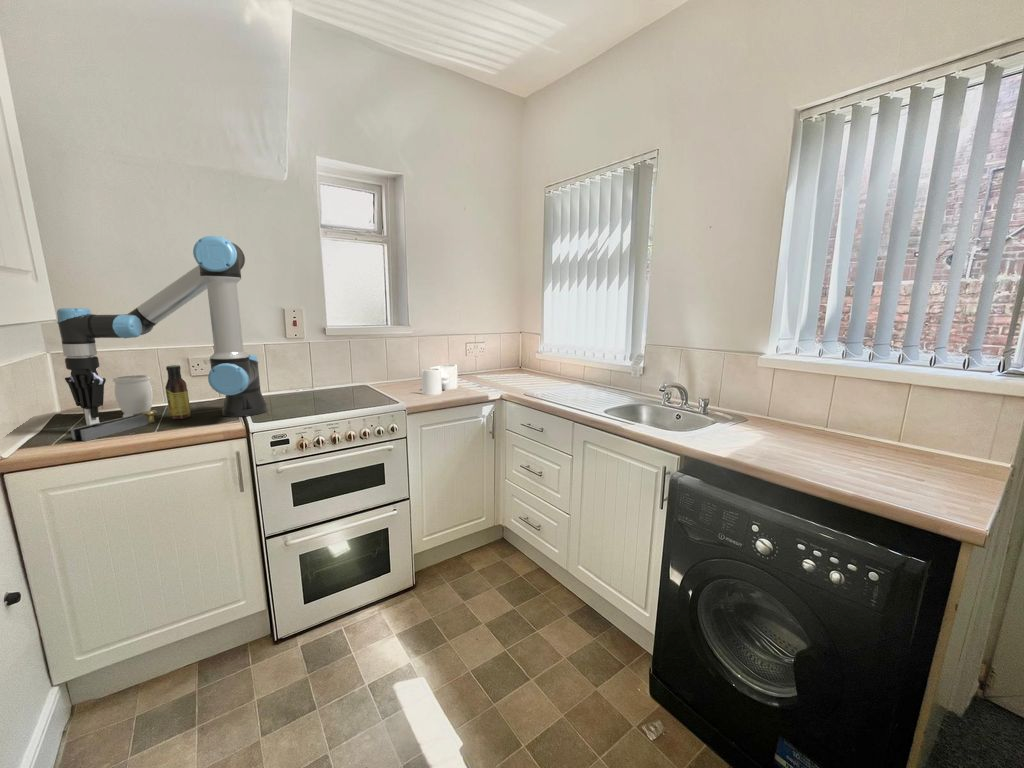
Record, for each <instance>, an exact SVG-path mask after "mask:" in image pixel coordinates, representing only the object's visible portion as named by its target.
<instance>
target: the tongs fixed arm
mask: <svg viewBox="0 0 1024 768" xmlns="http://www.w3.org/2000/svg"><path fill="white" fill-rule="evenodd" d="M154 415H155V414H153V415H140V416H136V417H132V418H128V419H124V420H120V421H116V422H112V423H108V424H104V425H98V426H94V427H90V428H86V429H82V430H80V435H81V439H80V440H81V442H88V440H89V441H91V440H95V439H99V437H100V438H102V437H106V436H110V435H114V434H117V433H120V432H121V433H122V432H125V431H128V430H131V429H135V428H136V429H137V428H140V427H144V426H147V425H149V424H151V423H155V417H154Z"/></svg>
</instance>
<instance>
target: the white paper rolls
mask: <svg viewBox="0 0 1024 768" xmlns="http://www.w3.org/2000/svg"><path fill="white" fill-rule="evenodd" d="M458 381H459V380H458V364H455V363H453V364H452V363H443V364H442V365H436V366H433V367H432V366H431V367H428V368H427V370H426V369H421V394H422V395H425V396H438V395H442V393H443V390H444V391H445V390H447V391H452V390H457V389H458V388H459V385H458V384H459V382H458Z"/></svg>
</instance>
